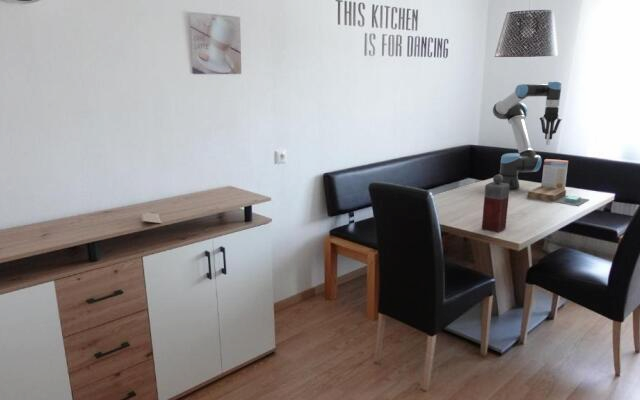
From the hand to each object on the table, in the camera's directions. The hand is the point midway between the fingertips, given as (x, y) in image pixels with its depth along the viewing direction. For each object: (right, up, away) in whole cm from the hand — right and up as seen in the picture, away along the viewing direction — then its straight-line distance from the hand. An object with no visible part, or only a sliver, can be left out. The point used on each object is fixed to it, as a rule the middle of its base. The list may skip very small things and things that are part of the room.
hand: (547, 144), depth 303 cm
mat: (+10, -36, -10) cm, 39 cm away
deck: (-1, -33, +1) cm, 33 cm away
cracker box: (+11, -29, +16) cm, 35 cm away
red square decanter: (-56, -50, -60) cm, 96 cm away
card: (+10, -34, -11) cm, 37 cm away
